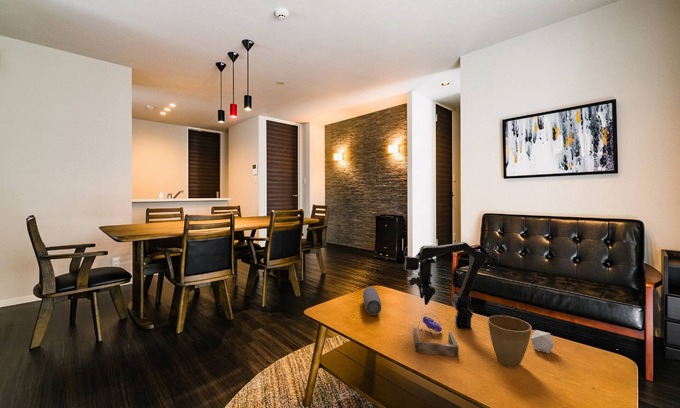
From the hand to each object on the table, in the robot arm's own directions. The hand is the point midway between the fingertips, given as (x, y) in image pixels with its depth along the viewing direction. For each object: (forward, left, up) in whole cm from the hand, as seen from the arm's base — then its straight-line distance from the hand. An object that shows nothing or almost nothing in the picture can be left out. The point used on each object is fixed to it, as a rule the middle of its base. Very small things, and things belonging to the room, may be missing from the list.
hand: (423, 301), depth 149 cm
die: (-48, +15, -12) cm, 51 cm away
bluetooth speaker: (+27, -14, -12) cm, 33 cm away
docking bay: (-3, +21, -12) cm, 24 cm away
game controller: (-3, +9, -12) cm, 15 cm away
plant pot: (-30, +28, -12) cm, 43 cm away
